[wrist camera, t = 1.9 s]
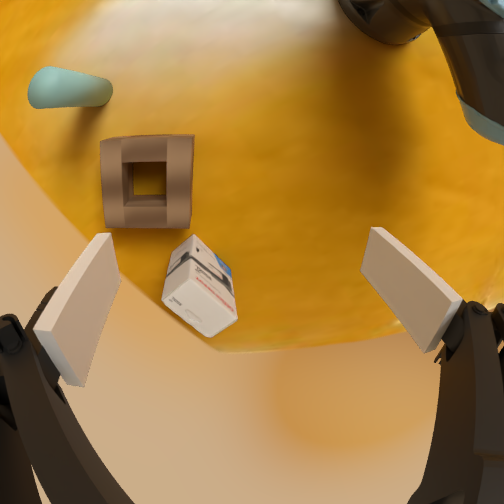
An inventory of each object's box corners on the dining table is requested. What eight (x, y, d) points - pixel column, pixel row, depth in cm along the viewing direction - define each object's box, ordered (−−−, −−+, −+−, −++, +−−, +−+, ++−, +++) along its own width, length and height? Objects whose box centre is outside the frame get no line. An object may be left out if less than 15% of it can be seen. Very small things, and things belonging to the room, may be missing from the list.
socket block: (113, 137, 30) (100, 141, 26) (194, 134, 32) (191, 137, 27) (117, 213, 35) (105, 228, 31) (191, 214, 37) (189, 228, 33)
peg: (87, 80, 25) (29, 72, 13) (113, 76, 26) (63, 61, 14) (85, 108, 27) (26, 112, 15) (111, 104, 28) (59, 104, 16)
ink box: (232, 269, 42) (240, 321, 32) (208, 286, 43) (210, 340, 33) (194, 231, 38) (189, 278, 28) (170, 252, 39) (159, 302, 29)
